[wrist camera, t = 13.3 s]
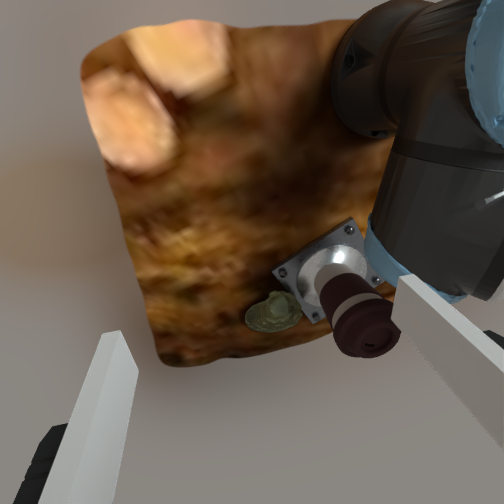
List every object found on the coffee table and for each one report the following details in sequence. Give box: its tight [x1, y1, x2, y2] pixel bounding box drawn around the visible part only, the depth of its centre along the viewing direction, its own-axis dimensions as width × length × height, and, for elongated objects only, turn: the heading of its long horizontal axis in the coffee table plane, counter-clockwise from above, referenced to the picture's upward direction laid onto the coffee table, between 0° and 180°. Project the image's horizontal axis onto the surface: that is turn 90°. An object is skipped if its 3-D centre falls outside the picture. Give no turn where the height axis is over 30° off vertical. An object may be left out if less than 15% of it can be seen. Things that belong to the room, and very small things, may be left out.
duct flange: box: [271, 217, 385, 324], centre depth 52 cm, size 16×16×2 cm
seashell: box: [245, 291, 303, 333], centre depth 53 cm, size 10×7×10 cm
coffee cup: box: [314, 263, 401, 358], centre depth 45 cm, size 10×10×15 cm
